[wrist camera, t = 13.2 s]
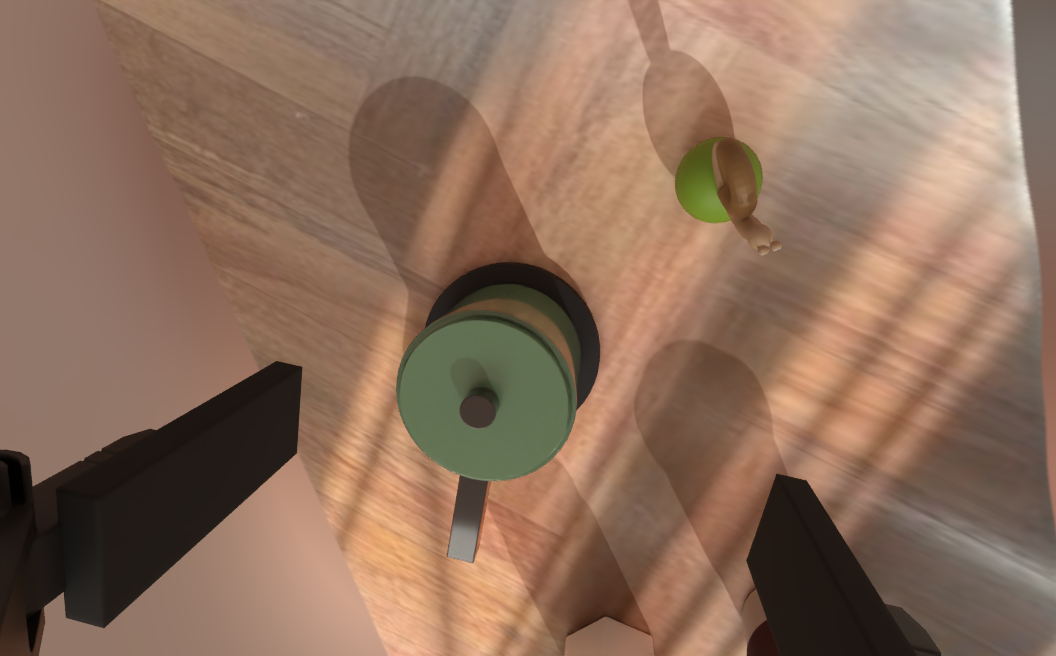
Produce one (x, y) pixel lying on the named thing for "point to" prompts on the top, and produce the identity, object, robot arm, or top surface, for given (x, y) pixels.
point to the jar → (609, 640)
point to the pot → (490, 395)
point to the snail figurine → (724, 188)
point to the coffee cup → (757, 628)
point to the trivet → (545, 285)
